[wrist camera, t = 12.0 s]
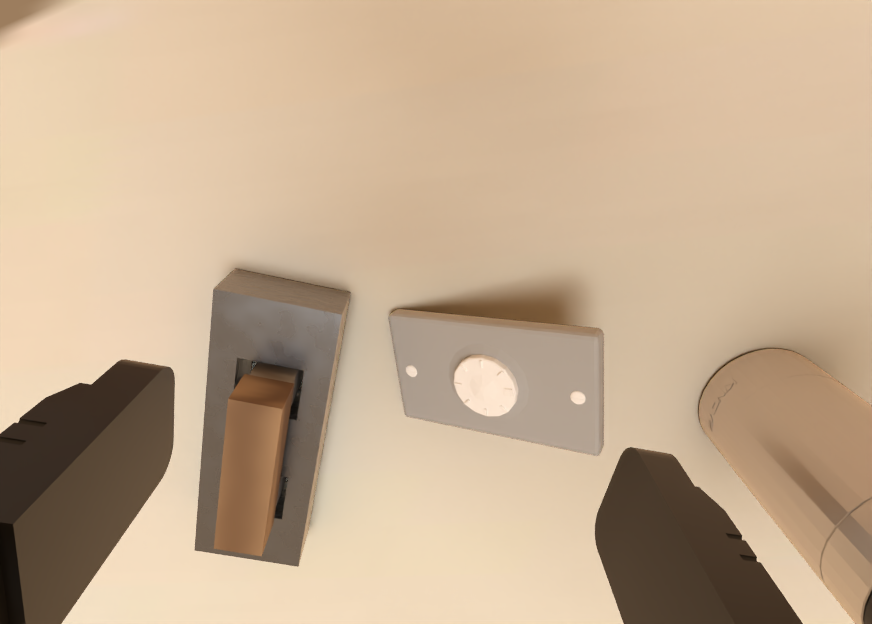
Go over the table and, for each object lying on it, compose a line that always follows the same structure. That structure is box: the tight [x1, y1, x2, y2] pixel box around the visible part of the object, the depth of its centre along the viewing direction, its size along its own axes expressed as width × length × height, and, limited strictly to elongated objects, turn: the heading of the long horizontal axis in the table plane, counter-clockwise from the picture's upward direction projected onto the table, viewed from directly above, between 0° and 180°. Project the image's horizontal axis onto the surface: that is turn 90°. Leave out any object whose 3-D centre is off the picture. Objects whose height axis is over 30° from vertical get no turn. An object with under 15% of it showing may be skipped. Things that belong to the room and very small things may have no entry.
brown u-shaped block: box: [214, 362, 304, 556], centre depth 38 cm, size 3×12×8 cm, turn 167°
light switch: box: [389, 309, 604, 456], centre depth 37 cm, size 8×6×14 cm
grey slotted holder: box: [195, 269, 351, 566], centre depth 40 cm, size 8×22×4 cm, turn 167°
